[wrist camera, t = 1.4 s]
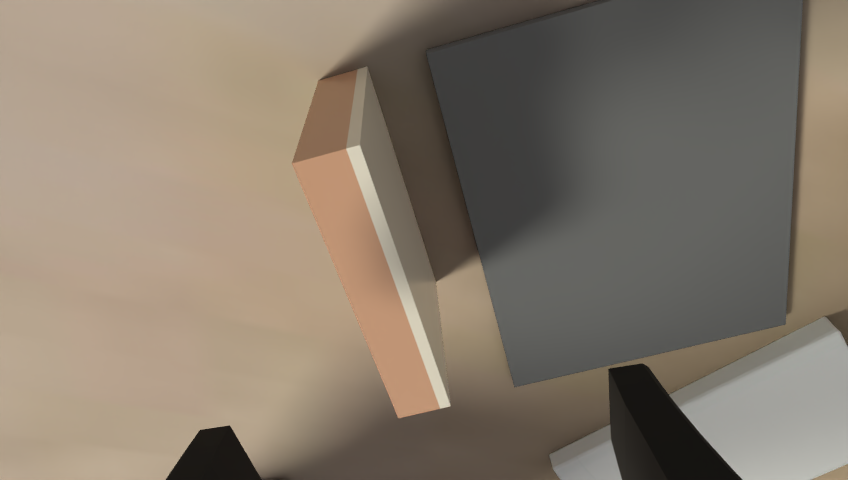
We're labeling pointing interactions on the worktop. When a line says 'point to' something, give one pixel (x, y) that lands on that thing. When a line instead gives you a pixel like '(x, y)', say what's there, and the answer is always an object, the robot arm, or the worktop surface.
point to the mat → (627, 174)
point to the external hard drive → (755, 413)
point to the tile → (374, 238)
